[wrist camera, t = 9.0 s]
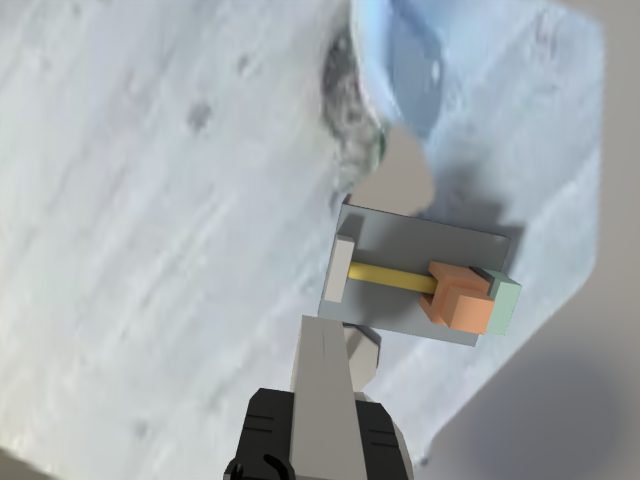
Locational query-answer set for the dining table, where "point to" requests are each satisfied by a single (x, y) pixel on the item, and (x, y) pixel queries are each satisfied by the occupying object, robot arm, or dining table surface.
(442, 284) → the sleeve
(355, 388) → the wineglass
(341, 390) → the robot arm
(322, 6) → the dining table surface
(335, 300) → the linear slide rail
